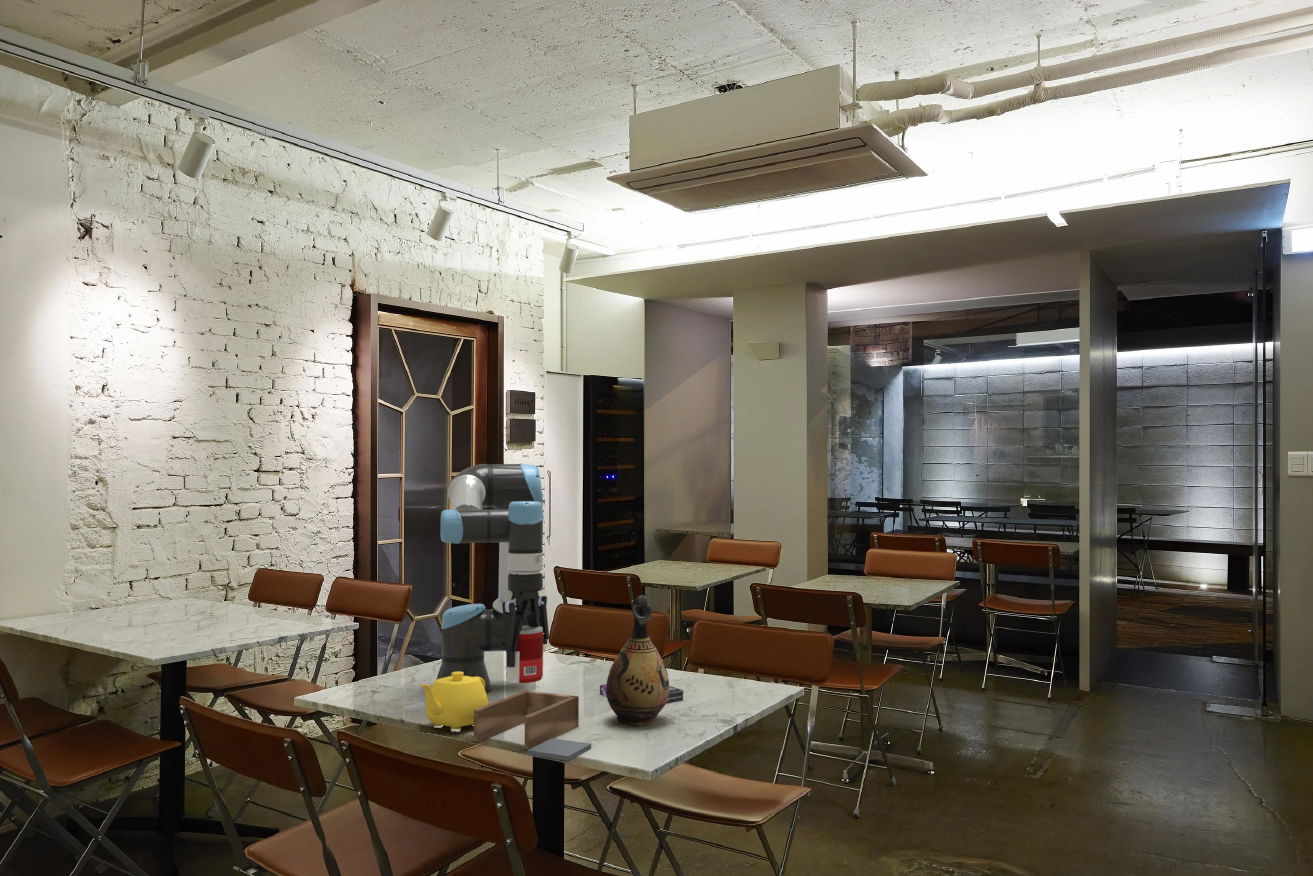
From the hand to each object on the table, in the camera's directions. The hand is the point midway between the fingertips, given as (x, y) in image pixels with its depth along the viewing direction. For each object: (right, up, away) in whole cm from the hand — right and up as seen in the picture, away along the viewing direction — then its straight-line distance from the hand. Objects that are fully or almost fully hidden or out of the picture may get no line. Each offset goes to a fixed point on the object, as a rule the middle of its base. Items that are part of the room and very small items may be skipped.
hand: (524, 678), depth 198 cm
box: (+24, -19, +49) cm, 58 cm away
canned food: (0, 0, 0) cm, 0 cm away
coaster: (+8, -16, -1) cm, 17 cm away
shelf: (-1, -16, +13) cm, 21 cm away
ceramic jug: (+24, -17, +25) cm, 39 cm away
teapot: (-20, -17, +19) cm, 32 cm away
